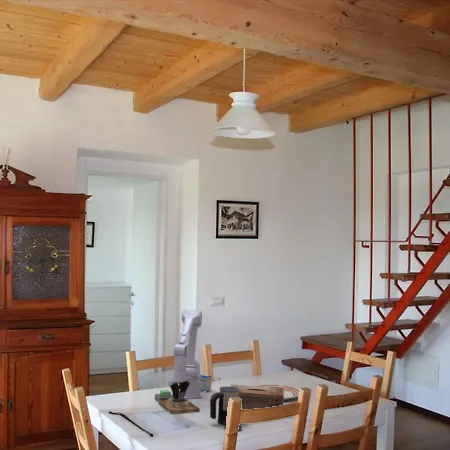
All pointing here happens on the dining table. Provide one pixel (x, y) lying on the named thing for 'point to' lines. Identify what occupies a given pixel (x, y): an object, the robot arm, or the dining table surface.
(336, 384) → the dining table surface
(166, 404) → the brown wooden base
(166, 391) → the button
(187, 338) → the robot arm
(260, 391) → the tissue box cover
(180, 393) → the block
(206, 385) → the medicine box
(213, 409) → the milk frother
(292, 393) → the dinner plate
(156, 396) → the button housing
